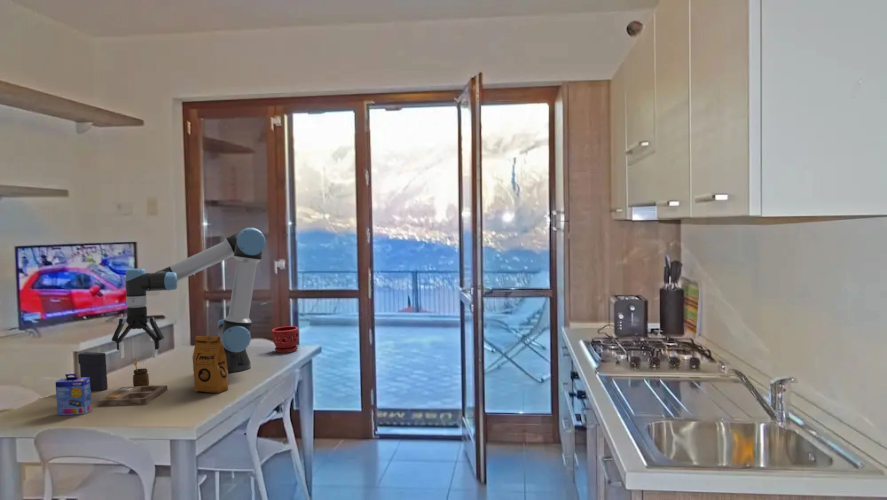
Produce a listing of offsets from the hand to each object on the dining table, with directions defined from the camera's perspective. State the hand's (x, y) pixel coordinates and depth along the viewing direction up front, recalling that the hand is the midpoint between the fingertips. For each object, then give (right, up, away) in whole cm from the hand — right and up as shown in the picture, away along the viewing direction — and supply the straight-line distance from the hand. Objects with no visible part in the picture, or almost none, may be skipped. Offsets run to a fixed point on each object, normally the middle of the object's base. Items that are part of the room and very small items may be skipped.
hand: (138, 357), depth 269 cm
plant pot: (+45, -8, +66) cm, 80 cm away
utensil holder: (+1, -12, +1) cm, 12 cm away
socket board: (+6, -13, -17) cm, 22 cm away
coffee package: (+34, -12, -10) cm, 37 cm away
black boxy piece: (-17, -13, -2) cm, 22 cm away
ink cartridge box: (-6, -14, -35) cm, 39 cm away
